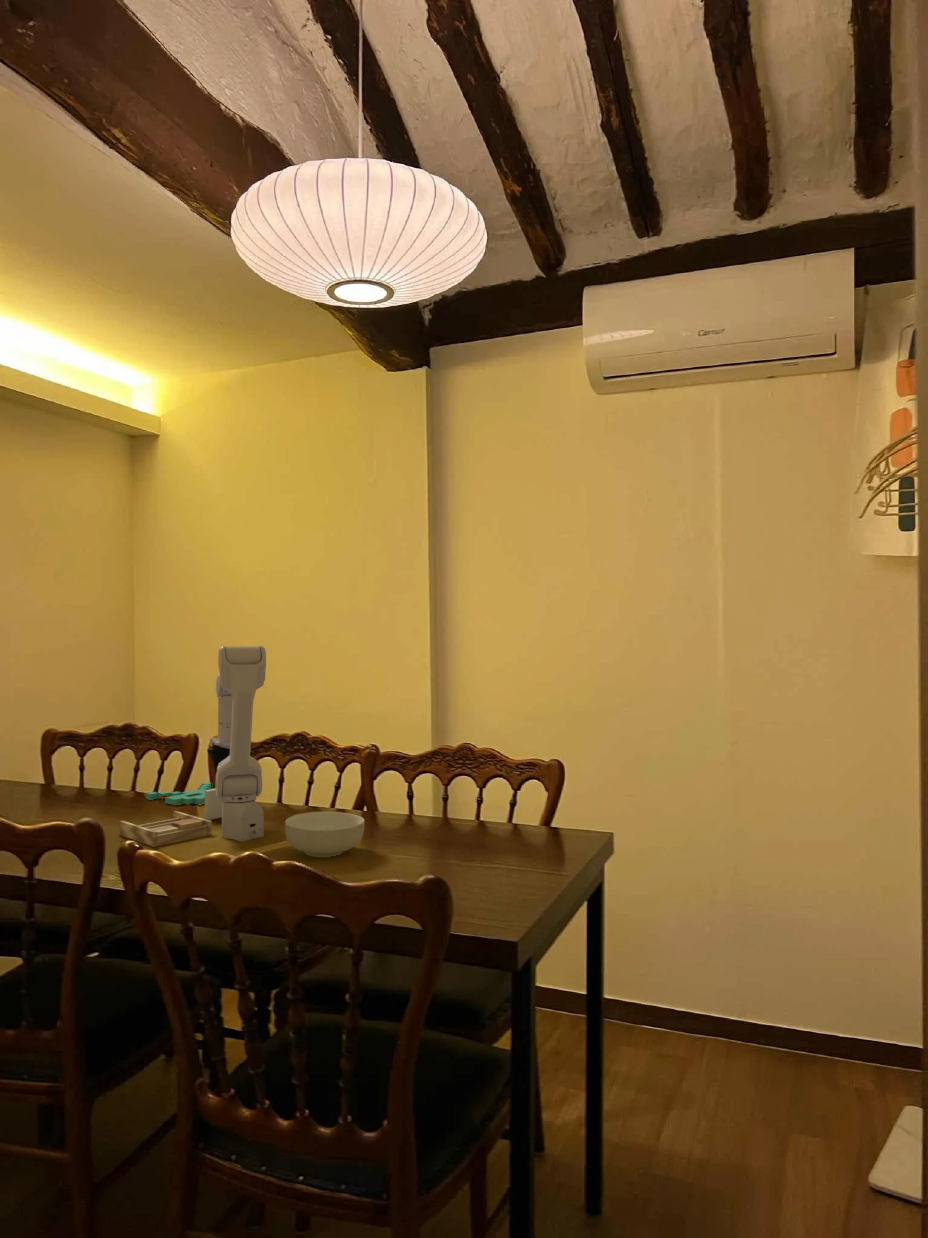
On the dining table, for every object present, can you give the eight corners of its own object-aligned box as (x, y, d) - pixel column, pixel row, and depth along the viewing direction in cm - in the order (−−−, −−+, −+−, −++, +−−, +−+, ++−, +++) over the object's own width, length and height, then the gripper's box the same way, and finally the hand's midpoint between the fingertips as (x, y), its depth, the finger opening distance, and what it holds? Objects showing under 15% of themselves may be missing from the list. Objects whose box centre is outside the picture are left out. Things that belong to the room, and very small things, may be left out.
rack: (211, 838, 190) (211, 821, 190) (153, 851, 179) (153, 832, 179) (176, 827, 200) (176, 811, 200) (119, 839, 189) (119, 821, 189)
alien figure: (146, 801, 231) (189, 811, 219) (146, 793, 231) (189, 803, 219) (207, 790, 247) (251, 798, 235) (207, 782, 247) (251, 791, 235)
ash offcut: (178, 839, 185) (178, 828, 185) (156, 844, 181) (156, 832, 181) (168, 836, 188) (168, 825, 188) (146, 840, 184) (146, 829, 184)
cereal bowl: (324, 869, 168) (325, 833, 168) (267, 855, 177) (268, 821, 177) (380, 850, 182) (380, 817, 182) (324, 838, 191) (325, 807, 191)
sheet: (242, 817, 211) (242, 785, 211) (207, 824, 204) (207, 791, 204) (239, 816, 212) (239, 785, 212) (204, 823, 204) (204, 790, 204)
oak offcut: (202, 834, 190) (202, 821, 190) (181, 838, 186) (181, 825, 186) (192, 831, 192) (192, 818, 192) (171, 835, 188) (172, 822, 188)
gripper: (199, 722, 210) (198, 776, 210) (233, 727, 200) (232, 784, 200) (223, 719, 215) (223, 772, 215) (257, 724, 206) (257, 780, 206)
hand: (229, 778), depth 208 cm, fingers open, 7 cm apart
